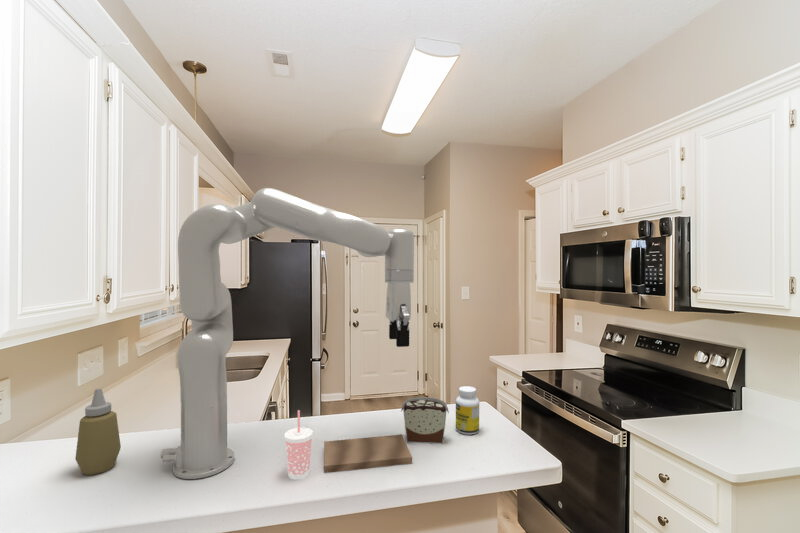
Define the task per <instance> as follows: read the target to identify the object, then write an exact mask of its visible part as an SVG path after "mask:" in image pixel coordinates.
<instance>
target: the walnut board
mask: <svg viewBox="0 0 800 533" xmlns="http://www.w3.org/2000/svg"><path fill="white" fill-rule="evenodd" d="M323 449H324V450H323V452H324V453H323V455H324V456H323V458H324V459H323V460H324V461H323V464H324V465H323V469H324V470H323V473H324V474H326V473H327V474H329V473H336V472H345V471H347V472H348V471H354V470H355V471H356V470H363V469H364V470H365V469H373V468H381V467H382V468H383V467H392V466H401V465H410V464H413V456H412V454H411V451H410V449H409V447H408V443H407V441H406V440H405V438H404V436H403V434H391V435H380V436H370V437H369V436H368V437H358V438H349V439H337V440H336V439H335V440H326V441H325V440H324V441H323Z"/></svg>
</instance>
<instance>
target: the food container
mask: <svg viewBox="0 0 800 533" xmlns="http://www.w3.org/2000/svg"><path fill="white" fill-rule="evenodd" d="M402 411H403V419H404V420H403V421H404V428H405V438H406V440H405V441H406V444H408V443H410V444H411V443H412V444H432V445H443V444H444V438H445V429H446V419H447V414H449V412H450V411H449V408H448V405H447V403H446V402H445V401H444V400H441V399H440V398H435V397H429V396H418V397H412V398H408V399H406V400H405V401H404V402H402V406H401V411H400V412H402Z"/></svg>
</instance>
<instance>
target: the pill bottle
mask: <svg viewBox="0 0 800 533" xmlns="http://www.w3.org/2000/svg"><path fill="white" fill-rule="evenodd" d="M458 389H459V390H458V391H459V392H458V393H459V396H457V397H456V398H455V429H456V431H457V432H458V433H459V434H463V435H465V436H466V435H468V436H469V435H470V436H472V435H475V434H478V432H479V431H480V400H479V398H478V397H476V395H477V389H476V388H475V387H474V386H468V385H467V386H466V385H465V386H464V385H463V386H460V387H459V388H458Z"/></svg>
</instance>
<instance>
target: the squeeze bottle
mask: <svg viewBox="0 0 800 533" xmlns="http://www.w3.org/2000/svg"><path fill="white" fill-rule="evenodd" d="M84 412H85V415H84V416H83V417H82V418H81V419H80V420H79V426H78V434H77V435H78V436H77V443H76V449H75V458H74V459H75V462H76V464H77V466H78V468H79V469H80V472H81V473H82V474H83V475H86V476H92V475H98V474H101V473H104V472H107V471H109V470H111V469H112V468H114V466H115V465H116V462H117V459H118V458H119V454H120V451H121V439H120V432H119V430H120V429H119V424H118V423H119V422H118V417H117V416H118V415H117V412H115V411H113V410H112V403H111V402H109V401H106V399H105V396H104V393H103V389H102V388H96V389H94V392H93V396H92V402H91V404H89V405H88V406H85V408H84Z"/></svg>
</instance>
